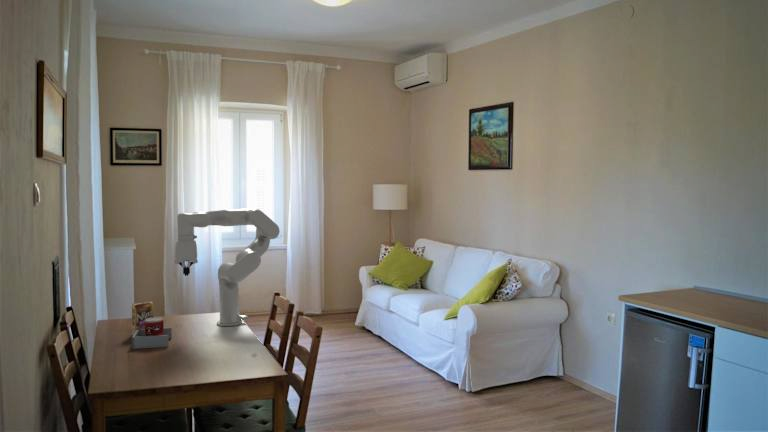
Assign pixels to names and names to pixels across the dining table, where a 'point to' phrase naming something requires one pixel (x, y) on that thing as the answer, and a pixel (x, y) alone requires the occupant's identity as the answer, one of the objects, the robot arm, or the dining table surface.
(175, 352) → the dining table surface
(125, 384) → the dining table surface
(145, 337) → the box
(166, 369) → the dining table surface
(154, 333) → the canned food
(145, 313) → the candy box
